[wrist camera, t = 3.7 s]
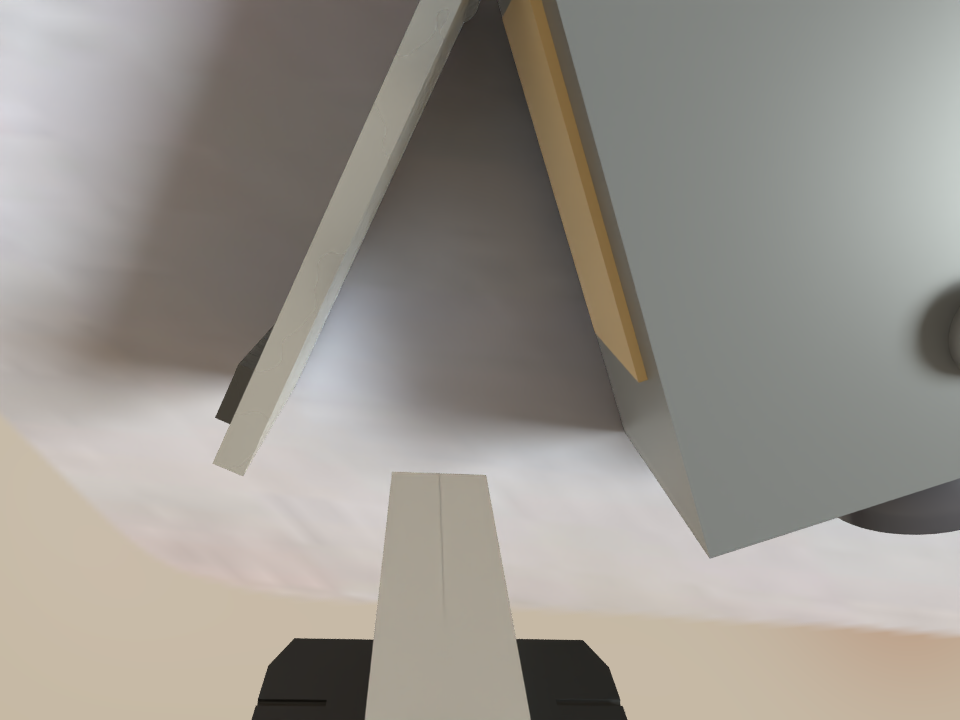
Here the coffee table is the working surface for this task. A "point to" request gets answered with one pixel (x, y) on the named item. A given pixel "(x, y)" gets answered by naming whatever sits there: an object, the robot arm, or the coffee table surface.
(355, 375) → the coffee table surface
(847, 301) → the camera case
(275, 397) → the side door
